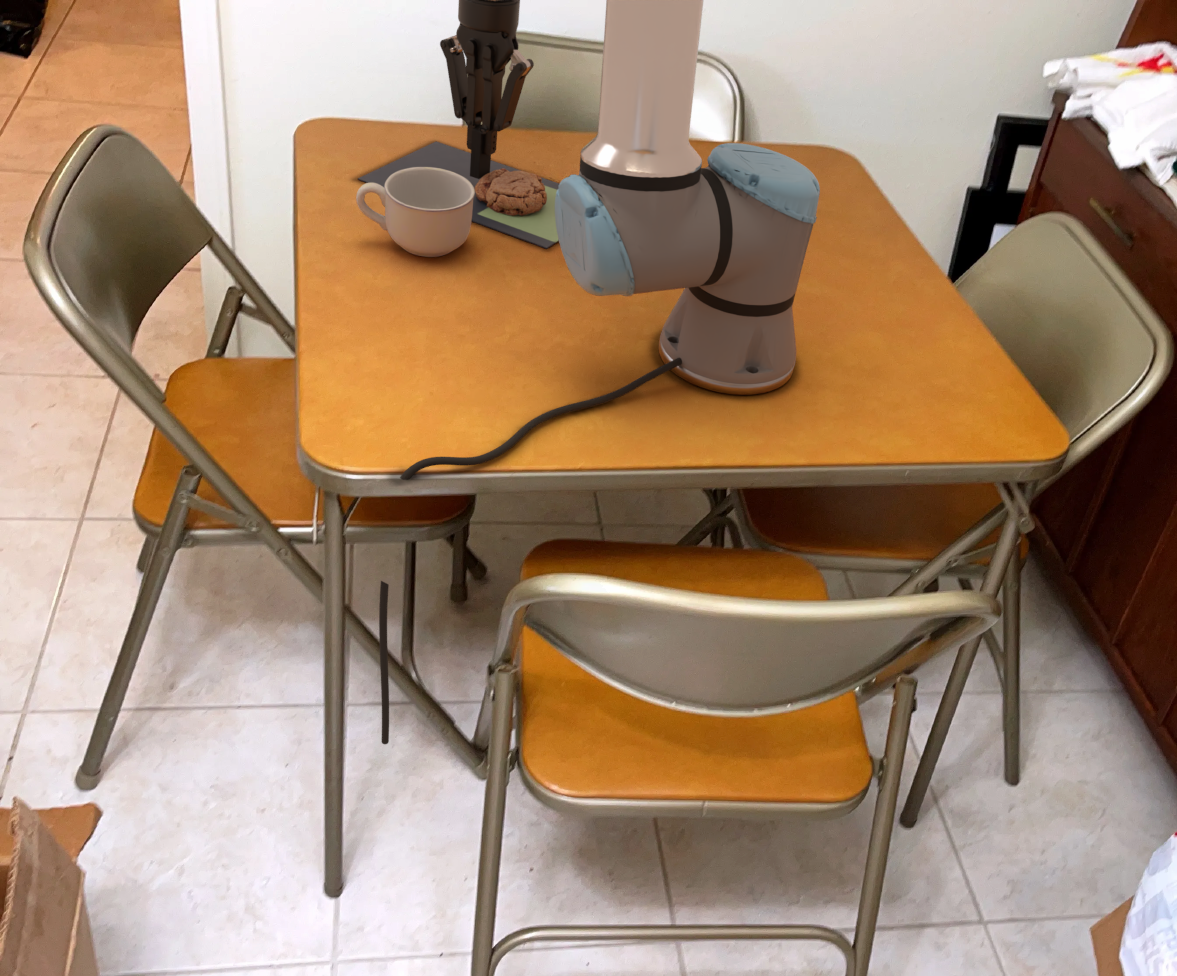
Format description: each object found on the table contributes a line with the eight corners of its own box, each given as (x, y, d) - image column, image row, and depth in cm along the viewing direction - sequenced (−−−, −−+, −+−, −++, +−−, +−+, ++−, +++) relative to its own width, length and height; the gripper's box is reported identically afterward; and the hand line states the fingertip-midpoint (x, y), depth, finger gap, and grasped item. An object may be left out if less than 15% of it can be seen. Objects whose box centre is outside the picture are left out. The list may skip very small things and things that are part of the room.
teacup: (479, 233, 143) (482, 174, 138) (462, 273, 135) (465, 210, 130) (371, 217, 143) (370, 157, 138) (348, 255, 135) (346, 193, 130)
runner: (546, 249, 142) (547, 247, 142) (357, 179, 152) (357, 178, 152) (614, 204, 155) (614, 202, 155) (436, 142, 164) (436, 141, 164)
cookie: (502, 222, 146) (504, 200, 144) (461, 189, 152) (462, 168, 150) (565, 209, 151) (567, 188, 149) (522, 178, 157) (524, 158, 156)
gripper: (550, -1, 138) (535, 180, 153) (463, -26, 142) (456, 153, 157) (518, 11, 133) (505, 197, 147) (428, -16, 137) (424, 169, 152)
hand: (479, 174), depth 152 cm, fingers closed
